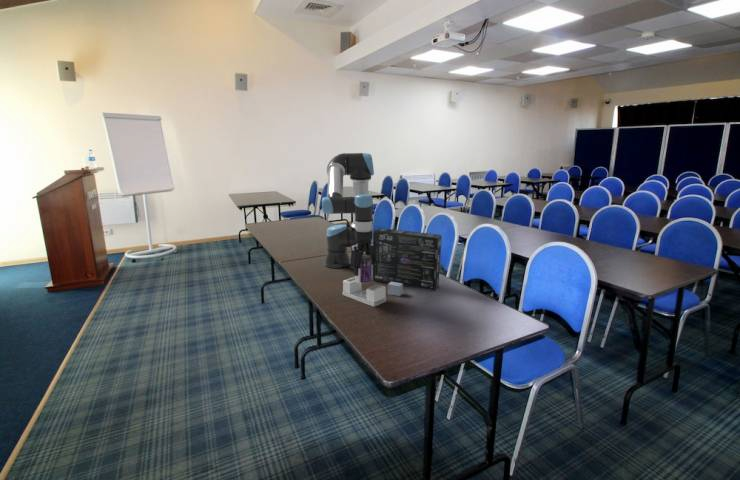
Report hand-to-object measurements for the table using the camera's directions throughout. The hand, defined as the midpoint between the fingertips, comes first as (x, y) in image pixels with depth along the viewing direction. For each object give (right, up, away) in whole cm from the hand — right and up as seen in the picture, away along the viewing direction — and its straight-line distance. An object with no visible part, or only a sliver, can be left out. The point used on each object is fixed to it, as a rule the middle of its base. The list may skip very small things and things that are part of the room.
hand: (363, 280), depth 165 cm
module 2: (+5, -8, -3) cm, 10 cm away
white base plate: (0, -8, +2) cm, 9 cm away
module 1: (-6, -5, +7) cm, 10 cm away
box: (+21, -4, +21) cm, 30 cm away
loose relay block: (+15, -7, +7) cm, 18 cm away
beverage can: (0, -1, 0) cm, 1 cm away
